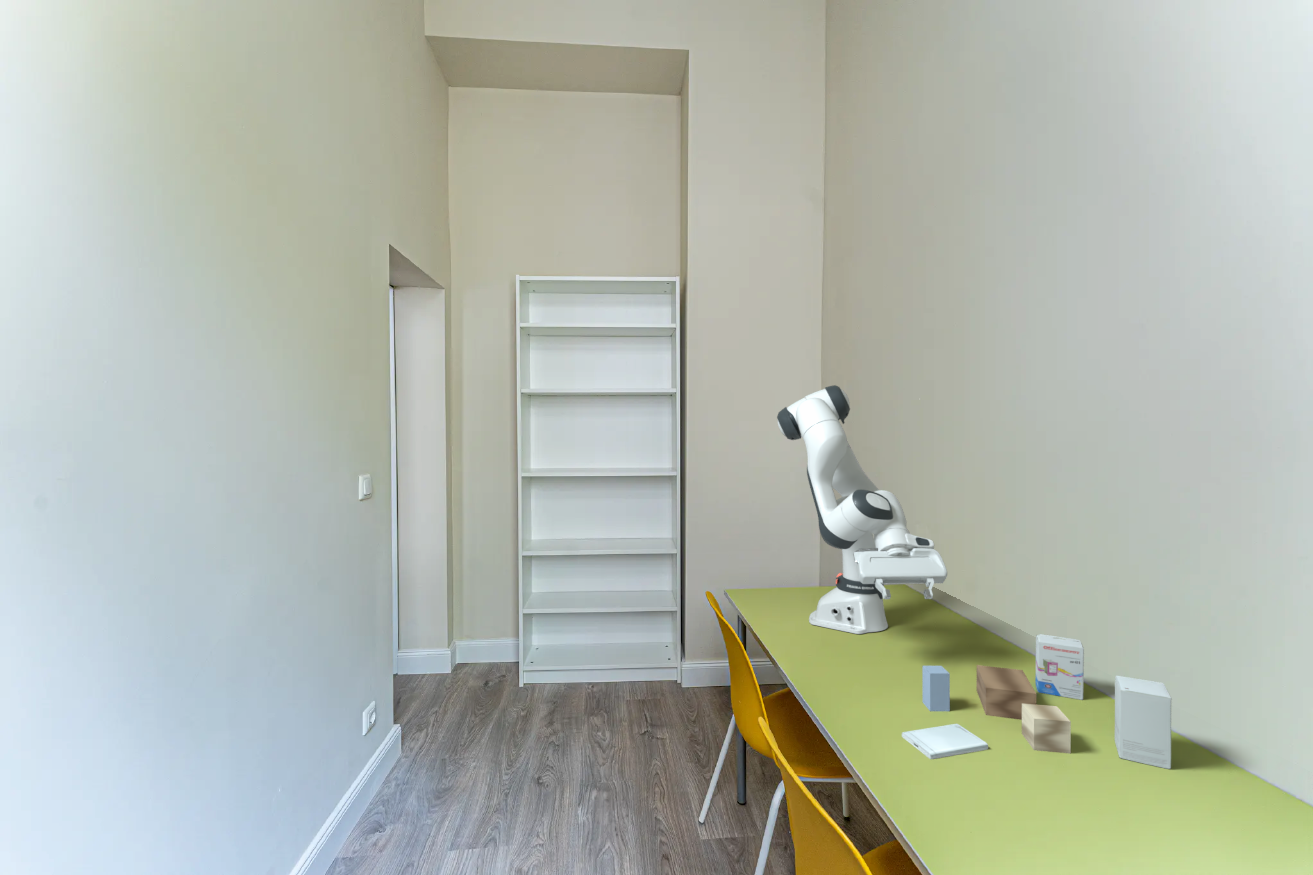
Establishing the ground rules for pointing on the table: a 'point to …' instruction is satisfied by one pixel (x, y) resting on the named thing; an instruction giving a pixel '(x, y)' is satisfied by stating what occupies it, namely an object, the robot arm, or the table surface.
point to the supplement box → (1143, 721)
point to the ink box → (1059, 666)
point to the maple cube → (1046, 728)
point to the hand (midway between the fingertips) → (908, 597)
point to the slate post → (936, 688)
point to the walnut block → (1004, 691)
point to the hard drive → (944, 741)
